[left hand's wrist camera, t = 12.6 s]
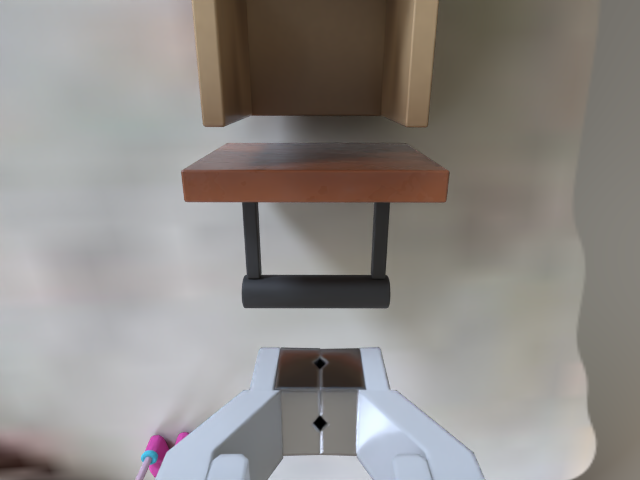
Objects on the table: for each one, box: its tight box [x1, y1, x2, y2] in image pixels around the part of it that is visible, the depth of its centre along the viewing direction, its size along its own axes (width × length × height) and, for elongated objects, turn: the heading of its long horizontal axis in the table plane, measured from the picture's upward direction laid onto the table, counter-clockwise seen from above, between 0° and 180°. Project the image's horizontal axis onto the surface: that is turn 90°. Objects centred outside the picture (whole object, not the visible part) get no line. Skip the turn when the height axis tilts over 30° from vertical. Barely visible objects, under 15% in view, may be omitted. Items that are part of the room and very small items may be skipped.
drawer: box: [181, 0, 449, 308], centre depth 17 cm, size 24×10×8 cm, turn 0°
